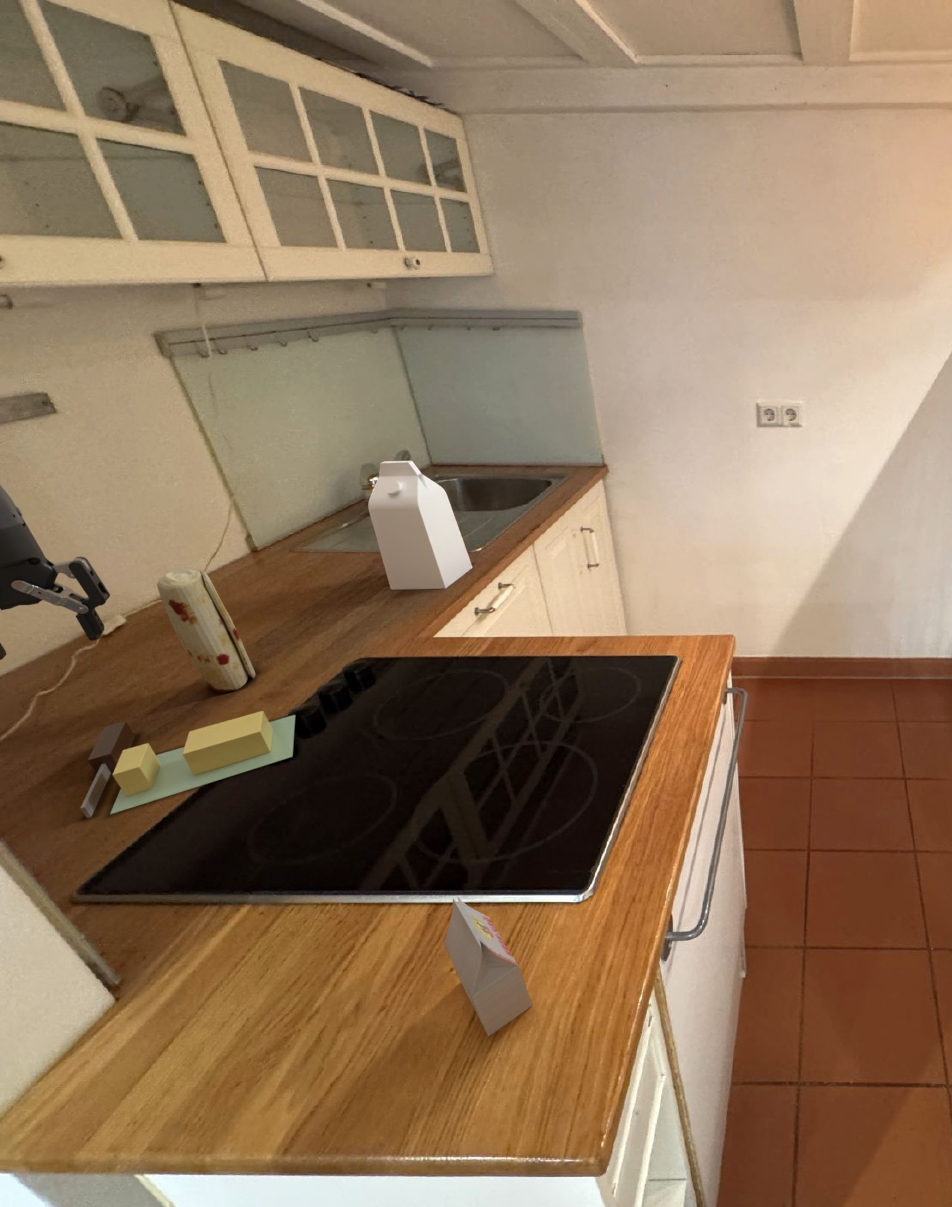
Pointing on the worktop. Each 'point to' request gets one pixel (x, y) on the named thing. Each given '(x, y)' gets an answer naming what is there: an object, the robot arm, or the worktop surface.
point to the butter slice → (136, 769)
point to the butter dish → (180, 777)
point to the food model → (205, 629)
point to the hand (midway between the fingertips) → (49, 647)
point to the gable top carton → (485, 968)
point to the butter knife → (106, 760)
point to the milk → (416, 529)
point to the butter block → (228, 742)
